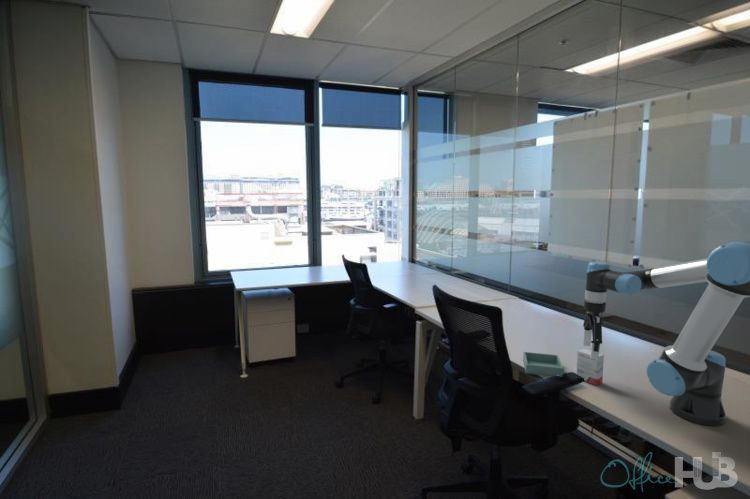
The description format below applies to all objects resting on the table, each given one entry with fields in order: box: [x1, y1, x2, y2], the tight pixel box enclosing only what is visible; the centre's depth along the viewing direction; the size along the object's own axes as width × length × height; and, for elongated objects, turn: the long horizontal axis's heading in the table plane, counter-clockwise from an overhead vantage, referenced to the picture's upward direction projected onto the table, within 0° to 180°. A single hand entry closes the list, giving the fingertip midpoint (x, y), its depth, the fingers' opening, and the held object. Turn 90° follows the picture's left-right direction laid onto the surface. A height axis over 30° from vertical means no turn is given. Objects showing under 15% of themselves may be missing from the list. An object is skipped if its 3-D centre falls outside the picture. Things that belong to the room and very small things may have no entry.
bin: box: [522, 351, 564, 377], centre depth 178 cm, size 14×14×4 cm
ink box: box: [576, 348, 605, 386], centre depth 166 cm, size 9×5×12 cm, turn 33°
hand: (590, 351), depth 166 cm, fingers open, 13 cm apart
